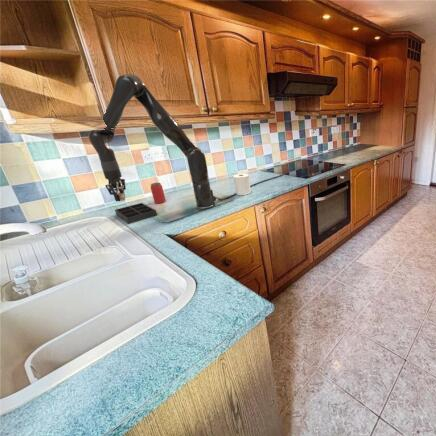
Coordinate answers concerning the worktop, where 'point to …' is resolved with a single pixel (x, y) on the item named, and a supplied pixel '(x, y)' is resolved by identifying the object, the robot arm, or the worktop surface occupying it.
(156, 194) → the beer can
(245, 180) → the toilet paper
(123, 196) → the token
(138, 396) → the worktop surface
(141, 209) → the grid
